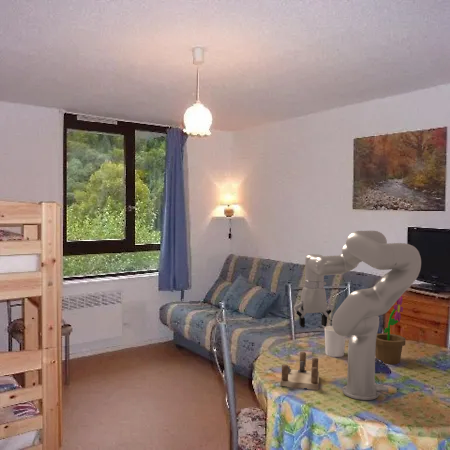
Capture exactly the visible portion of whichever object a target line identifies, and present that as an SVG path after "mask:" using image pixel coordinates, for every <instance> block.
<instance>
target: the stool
mask: <svg viewBox="0 0 450 450" xmlns="http://www.w3.org/2000/svg"><path fill="white" fill-rule="evenodd" d="M319 374H320V371H319V358H317V357H312V358H311V370H307V369H305V371H304V372H301V371H300V369H292V368H291V367H290V365H288V364H281V377H280V380H279V381H280V382H279V383H280V385H279V386H280V387H282V386H287V387H286V388H293V387H296V388H295V389H304V388H307V389H306V390H317V391H318V390H319V385H320V384H319V382H320V380H319V378H320V377H319Z"/></svg>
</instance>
